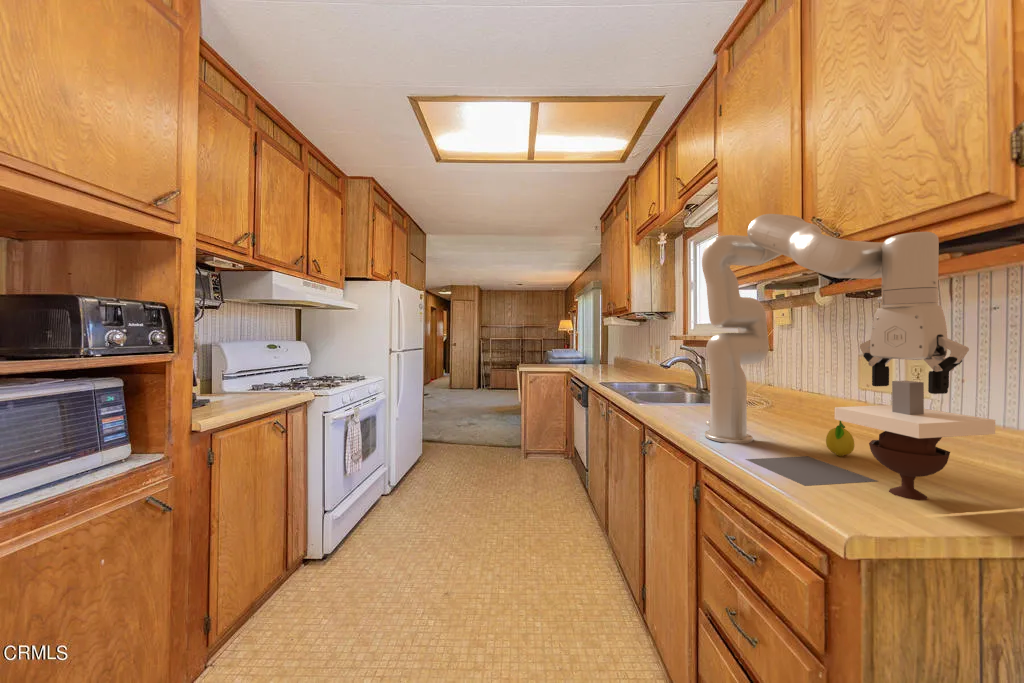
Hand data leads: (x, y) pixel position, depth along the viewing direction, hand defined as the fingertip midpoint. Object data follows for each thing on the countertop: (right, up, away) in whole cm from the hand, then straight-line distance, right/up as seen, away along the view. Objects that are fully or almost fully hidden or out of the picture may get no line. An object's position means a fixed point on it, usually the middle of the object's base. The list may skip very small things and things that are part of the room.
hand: (907, 389), depth 74 cm
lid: (0, -7, 0) cm, 7 cm away
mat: (-9, -20, +14) cm, 26 cm away
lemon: (+7, -20, +24) cm, 32 cm away
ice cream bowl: (0, -21, 0) cm, 21 cm away
